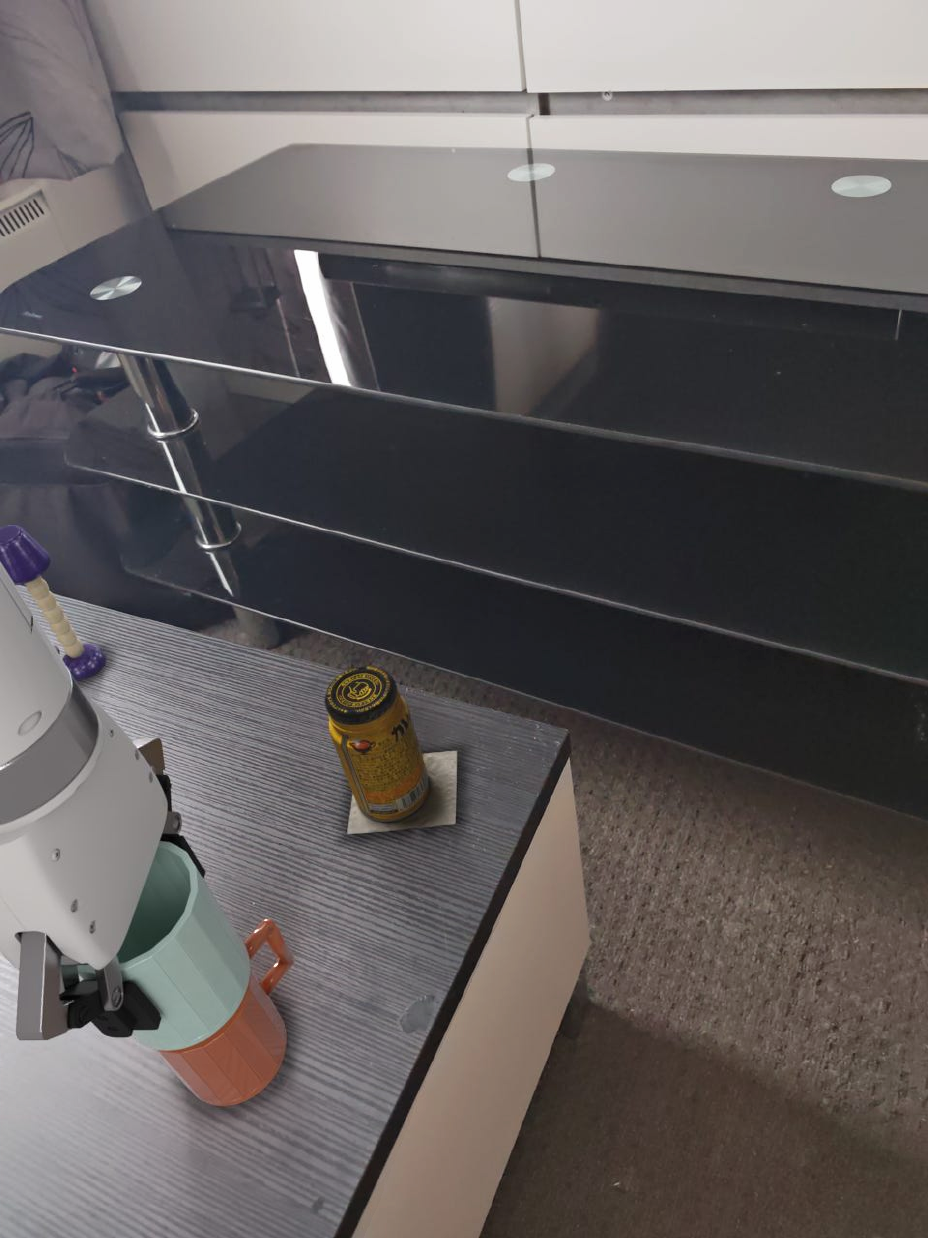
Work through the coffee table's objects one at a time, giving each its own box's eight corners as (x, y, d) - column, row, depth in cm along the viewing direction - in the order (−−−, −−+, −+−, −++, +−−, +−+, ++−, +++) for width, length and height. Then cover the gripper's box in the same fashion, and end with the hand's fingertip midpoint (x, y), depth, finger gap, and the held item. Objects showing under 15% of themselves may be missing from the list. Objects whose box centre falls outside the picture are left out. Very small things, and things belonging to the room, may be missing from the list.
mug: (237, 1128, 56) (191, 1076, 51) (163, 1070, 59) (112, 1015, 54) (336, 991, 61) (305, 931, 56) (264, 945, 65) (227, 884, 59)
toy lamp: (119, 657, 91) (41, 521, 80) (85, 689, 88) (0, 554, 77) (85, 646, 93) (5, 513, 82) (51, 678, 90) (-37, 544, 79)
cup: (103, 1052, 51) (27, 975, 45) (146, 925, 57) (84, 841, 51) (232, 1052, 50) (172, 973, 44) (263, 922, 56) (214, 836, 50)
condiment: (356, 761, 76) (319, 659, 68) (457, 752, 75) (431, 647, 67) (347, 836, 71) (305, 735, 63) (456, 826, 70) (427, 723, 62)
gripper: (8, 611, 46) (144, 818, 57) (-196, 936, 33) (32, 1117, 45) (149, 600, 45) (258, 813, 56) (-6, 931, 32) (176, 1118, 44)
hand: (157, 947), depth 50 cm, fingers closed on cup, 7 cm apart
